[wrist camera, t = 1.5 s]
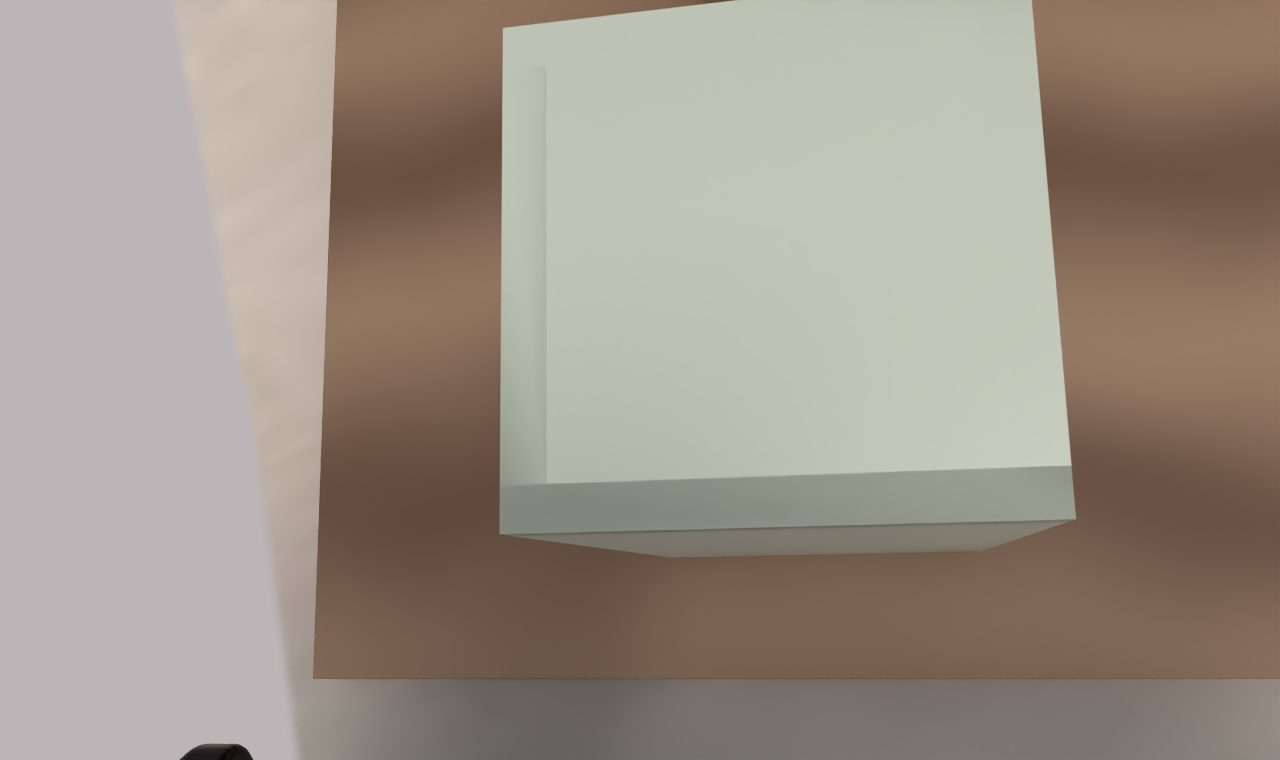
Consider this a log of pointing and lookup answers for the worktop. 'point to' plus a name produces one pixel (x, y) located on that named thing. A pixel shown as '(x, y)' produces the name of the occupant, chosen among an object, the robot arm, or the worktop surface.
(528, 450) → the pale green lidded box
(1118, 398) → the dock
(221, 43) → the worktop surface
